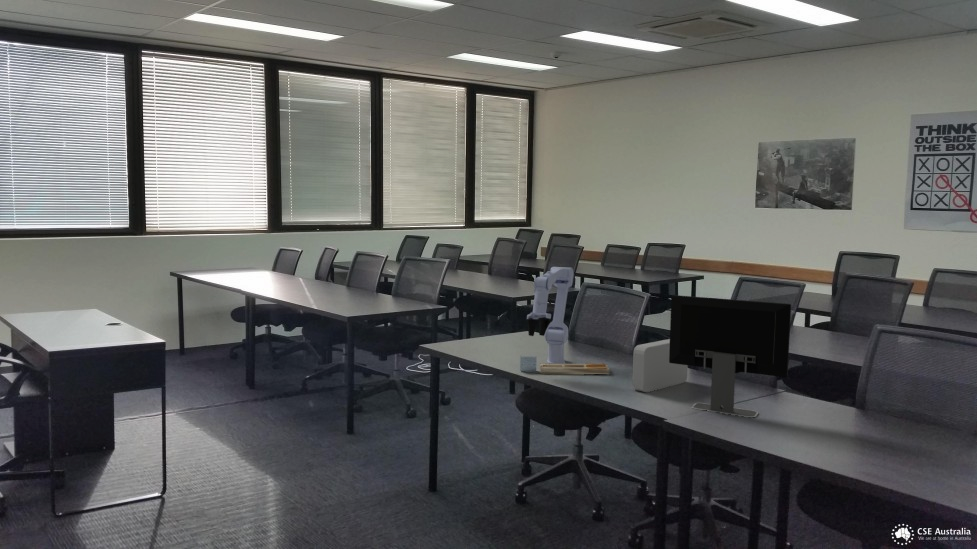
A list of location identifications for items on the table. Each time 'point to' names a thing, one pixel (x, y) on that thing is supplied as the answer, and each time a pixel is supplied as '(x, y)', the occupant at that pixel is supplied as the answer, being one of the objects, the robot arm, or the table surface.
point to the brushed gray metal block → (528, 363)
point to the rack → (574, 368)
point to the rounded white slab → (656, 367)
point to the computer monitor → (729, 342)
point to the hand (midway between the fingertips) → (536, 335)
